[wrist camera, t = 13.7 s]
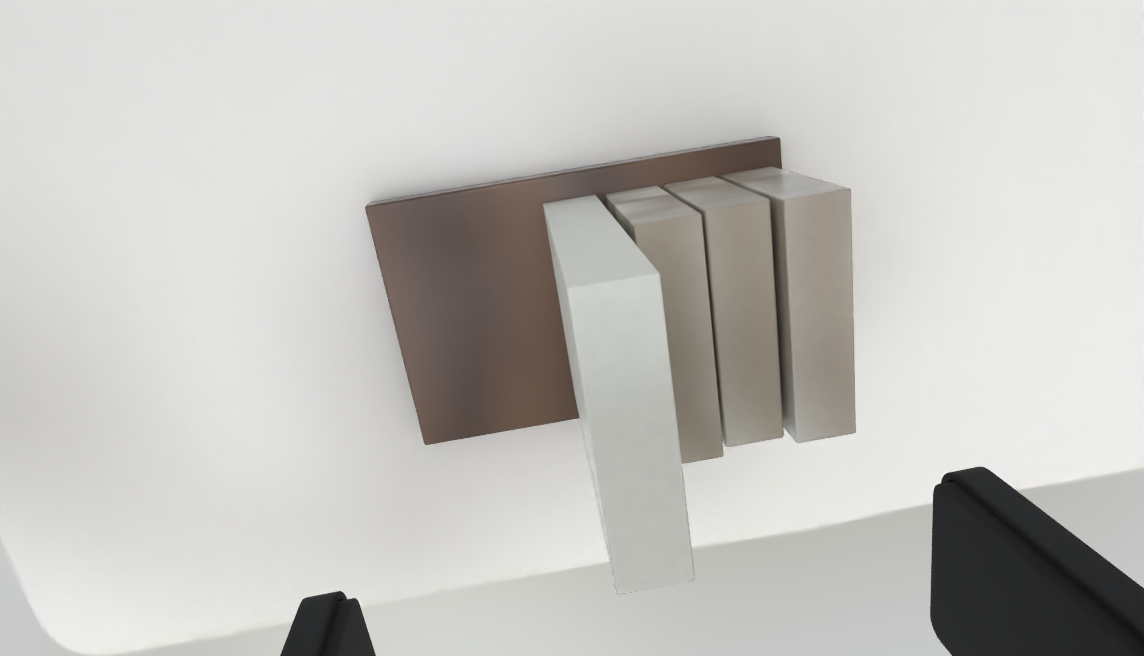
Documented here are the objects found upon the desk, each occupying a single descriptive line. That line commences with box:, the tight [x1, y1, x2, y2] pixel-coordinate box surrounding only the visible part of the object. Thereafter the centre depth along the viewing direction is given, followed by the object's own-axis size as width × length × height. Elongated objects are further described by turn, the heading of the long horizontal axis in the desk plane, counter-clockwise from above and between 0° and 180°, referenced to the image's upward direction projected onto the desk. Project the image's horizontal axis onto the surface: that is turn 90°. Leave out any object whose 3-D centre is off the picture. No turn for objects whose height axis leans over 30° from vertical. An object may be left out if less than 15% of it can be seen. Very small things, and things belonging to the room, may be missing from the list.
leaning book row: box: [365, 136, 856, 464], centre depth 25 cm, size 16×10×8 cm, turn 99°
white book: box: [543, 195, 695, 595], centre depth 22 cm, size 2×8×12 cm, turn 8°
